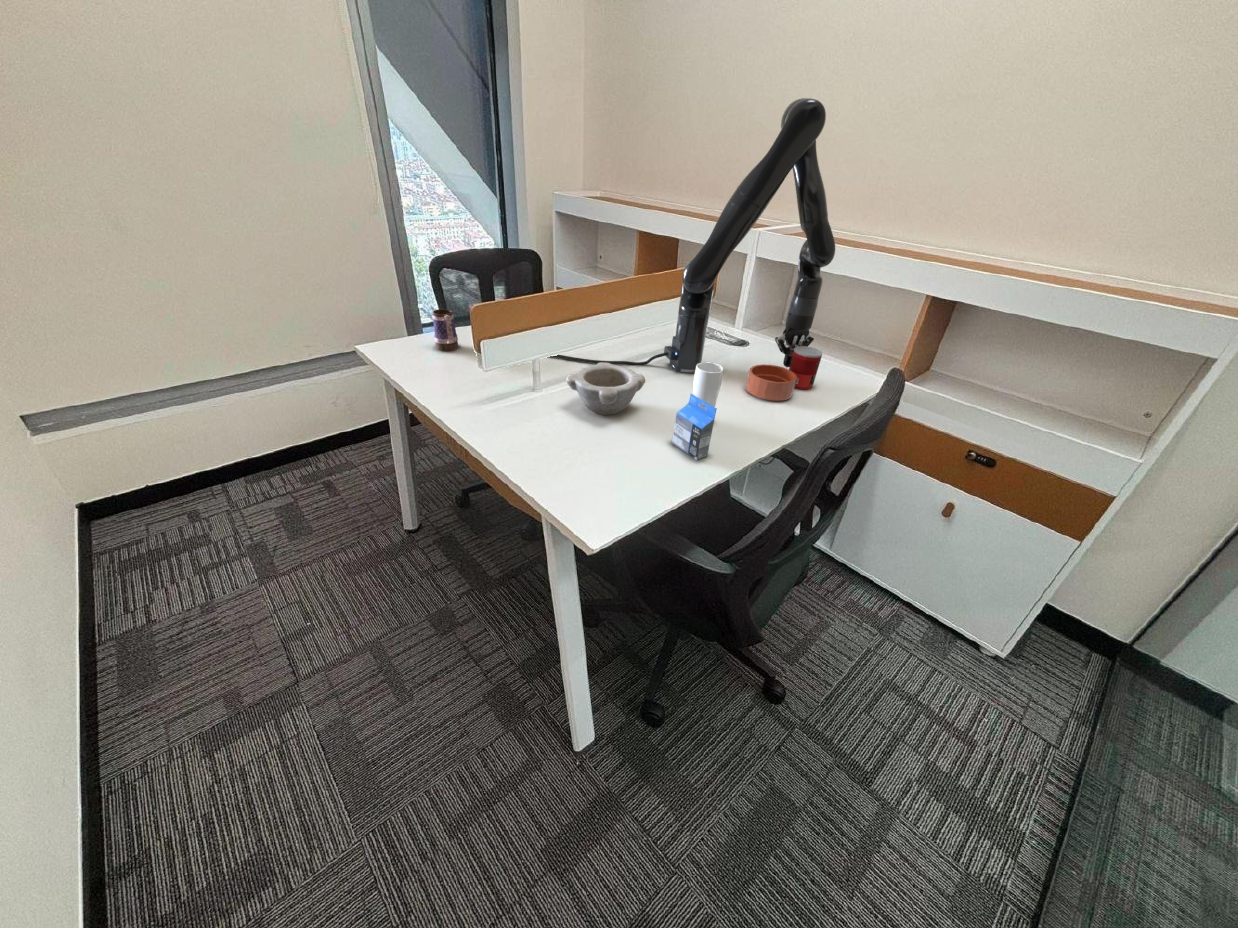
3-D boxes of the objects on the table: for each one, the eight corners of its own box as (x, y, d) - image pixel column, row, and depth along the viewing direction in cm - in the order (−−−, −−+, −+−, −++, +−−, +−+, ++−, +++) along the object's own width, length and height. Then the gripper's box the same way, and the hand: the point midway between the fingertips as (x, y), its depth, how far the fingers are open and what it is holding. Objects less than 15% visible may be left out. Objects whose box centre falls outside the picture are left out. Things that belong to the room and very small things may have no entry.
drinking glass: (707, 430, 125) (717, 375, 117) (683, 422, 128) (691, 367, 119) (717, 420, 130) (728, 366, 121) (694, 412, 132) (702, 359, 124)
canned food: (814, 391, 149) (824, 356, 143) (787, 388, 150) (796, 353, 144) (810, 381, 155) (819, 347, 149) (784, 378, 156) (792, 344, 150)
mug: (433, 345, 162) (428, 308, 155) (455, 342, 165) (451, 306, 158) (440, 356, 155) (435, 317, 148) (463, 353, 158) (459, 315, 151)
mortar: (560, 405, 131) (560, 373, 126) (604, 388, 142) (606, 357, 137) (605, 429, 122) (607, 396, 117) (649, 408, 133) (652, 377, 128)
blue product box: (671, 443, 119) (677, 396, 112) (683, 439, 120) (690, 392, 114) (696, 460, 113) (704, 412, 106) (708, 456, 115) (717, 408, 108)
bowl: (761, 404, 139) (766, 384, 136) (737, 384, 150) (740, 366, 147) (800, 400, 143) (806, 380, 140) (774, 381, 154) (779, 362, 151)
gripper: (812, 306, 151) (797, 360, 161) (775, 308, 147) (762, 363, 157) (828, 314, 145) (812, 369, 155) (790, 315, 141) (775, 372, 151)
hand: (787, 366), depth 156 cm, fingers closed
